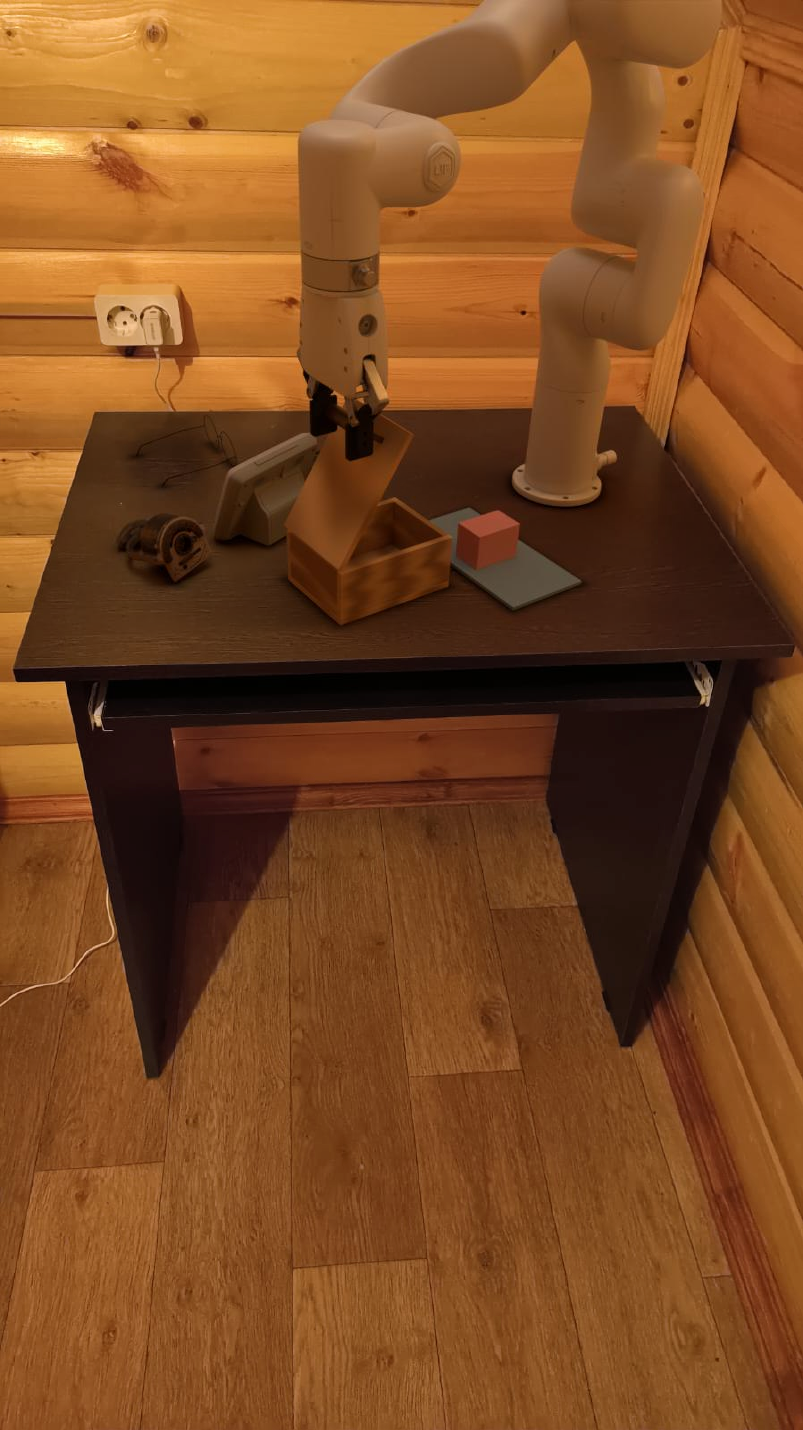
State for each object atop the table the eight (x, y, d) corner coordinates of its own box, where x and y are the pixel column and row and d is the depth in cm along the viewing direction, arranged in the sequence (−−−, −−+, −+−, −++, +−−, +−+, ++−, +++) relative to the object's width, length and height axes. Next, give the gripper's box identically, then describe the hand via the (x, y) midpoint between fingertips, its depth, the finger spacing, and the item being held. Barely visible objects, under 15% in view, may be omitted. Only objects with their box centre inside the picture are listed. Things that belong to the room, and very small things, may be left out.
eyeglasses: (164, 490, 139) (160, 455, 136) (133, 453, 148) (129, 420, 144) (240, 474, 144) (238, 440, 141) (206, 439, 152) (204, 407, 149)
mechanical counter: (128, 555, 116) (209, 522, 118) (96, 497, 123) (173, 466, 126) (147, 601, 121) (224, 568, 123) (115, 542, 129) (189, 513, 131)
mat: (469, 510, 139) (469, 507, 138) (581, 584, 125) (581, 580, 125) (403, 531, 133) (403, 528, 133) (512, 610, 120) (513, 607, 120)
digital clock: (296, 493, 140) (294, 419, 133) (339, 518, 135) (339, 443, 129) (197, 530, 131) (189, 453, 125) (239, 559, 126) (233, 480, 120)
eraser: (494, 541, 131) (498, 509, 128) (515, 556, 129) (520, 523, 126) (455, 555, 128) (458, 522, 125) (476, 570, 126) (479, 537, 123)
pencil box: (393, 545, 131) (395, 496, 126) (448, 586, 123) (452, 537, 119) (287, 579, 123) (286, 529, 119) (340, 625, 116) (340, 574, 112)
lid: (353, 396, 114) (321, 380, 111) (414, 434, 107) (382, 418, 103) (288, 527, 119) (255, 515, 115) (343, 571, 112) (310, 560, 108)
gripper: (425, 288, 95) (417, 467, 106) (324, 241, 105) (327, 409, 117) (358, 302, 91) (357, 486, 103) (261, 252, 102) (270, 423, 113)
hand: (341, 443), depth 110 cm, fingers closed on lid, 6 cm apart
